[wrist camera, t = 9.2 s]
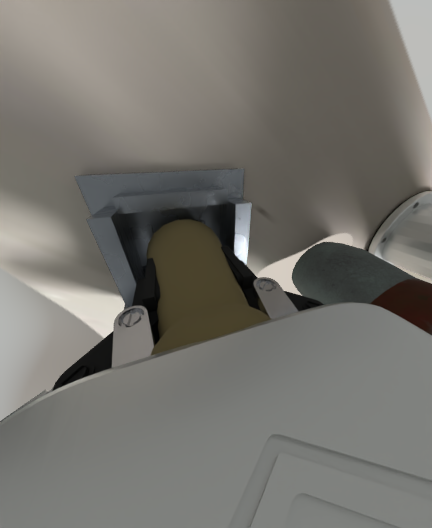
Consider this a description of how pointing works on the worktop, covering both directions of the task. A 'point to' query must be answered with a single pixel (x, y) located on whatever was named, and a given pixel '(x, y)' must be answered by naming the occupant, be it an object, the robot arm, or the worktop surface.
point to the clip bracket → (161, 214)
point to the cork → (195, 287)
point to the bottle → (362, 282)
